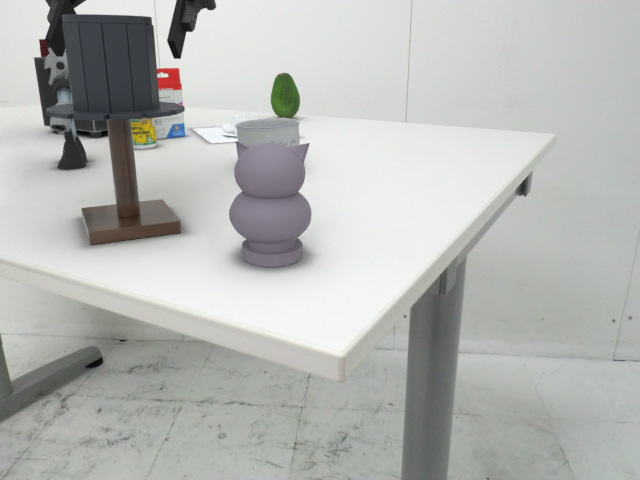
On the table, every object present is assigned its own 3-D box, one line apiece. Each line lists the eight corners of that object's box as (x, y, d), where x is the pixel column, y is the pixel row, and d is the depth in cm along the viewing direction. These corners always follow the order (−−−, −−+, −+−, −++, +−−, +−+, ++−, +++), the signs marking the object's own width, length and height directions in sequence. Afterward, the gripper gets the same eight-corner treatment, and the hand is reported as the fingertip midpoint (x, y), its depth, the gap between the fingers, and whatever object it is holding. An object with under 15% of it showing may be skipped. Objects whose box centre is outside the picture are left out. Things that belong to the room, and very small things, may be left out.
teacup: (277, 177, 92) (277, 127, 89) (224, 169, 97) (222, 122, 94) (319, 161, 104) (320, 117, 101) (269, 155, 109) (269, 112, 106)
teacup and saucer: (217, 132, 131) (216, 114, 130) (250, 130, 134) (249, 113, 133) (226, 139, 124) (225, 120, 122) (261, 137, 127) (261, 118, 125)
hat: (45, 107, 67) (32, 16, 64) (168, 103, 73) (162, 19, 70) (49, 123, 55) (33, 11, 51) (197, 116, 61) (191, 16, 57)
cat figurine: (220, 266, 57) (213, 148, 53) (243, 240, 64) (240, 134, 60) (303, 273, 56) (303, 152, 52) (317, 245, 63) (319, 137, 59)
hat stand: (82, 219, 71) (55, 23, 63) (163, 209, 75) (147, 25, 67) (90, 245, 62) (59, 23, 54) (181, 232, 66) (165, 24, 59)
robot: (84, 176, 91) (67, 44, 84) (51, 178, 90) (31, 44, 83) (91, 152, 109) (77, 42, 102) (64, 153, 107) (48, 41, 100)
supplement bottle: (158, 144, 118) (154, 96, 114) (155, 149, 113) (150, 99, 109) (131, 144, 117) (126, 96, 114) (127, 149, 112) (121, 99, 109)
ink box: (176, 133, 130) (172, 66, 125) (185, 136, 126) (181, 67, 121) (140, 136, 125) (133, 67, 120) (148, 140, 122) (142, 68, 116)
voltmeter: (150, 128, 136) (141, 39, 129) (95, 138, 122) (83, 40, 115) (101, 122, 143) (91, 38, 136) (45, 132, 129) (30, 39, 122)
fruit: (270, 116, 157) (269, 71, 153) (298, 116, 158) (298, 71, 154) (271, 120, 150) (270, 73, 146) (301, 120, 151) (301, 73, 147)
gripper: (252, -54, 74) (231, 74, 65) (67, -54, 76) (22, 70, 67) (243, -110, 67) (217, 24, 58) (40, -109, 69) (-15, 21, 60)
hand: (113, 49), depth 63 cm, fingers open, 13 cm apart
